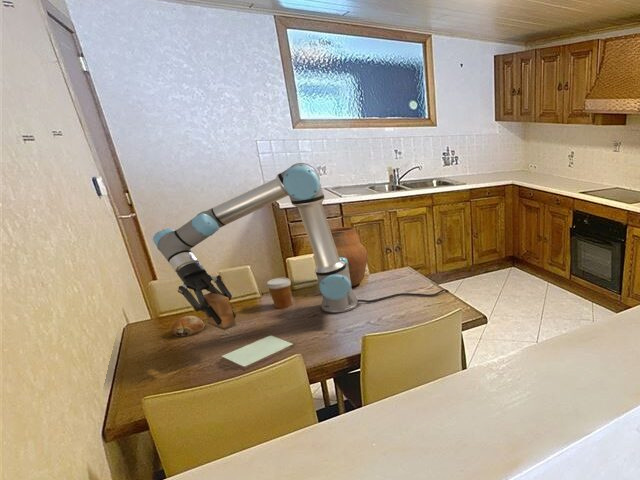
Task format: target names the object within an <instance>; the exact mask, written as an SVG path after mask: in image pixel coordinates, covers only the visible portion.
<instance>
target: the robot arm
mask: <svg viewBox="0 0 640 480" xmlns="http://www.w3.org/2000/svg"><path fill="white" fill-rule="evenodd" d="M287 197H288V198H289V200H290V203H291V205H292V206H294V207H296V208H297V209H298V212H299V215H300V218H301V221H302V224H303V227H304V230H305V233H306V237H307V239H308V242H309V244H310V248H311V251H312V254H313V257H314V260H315V263H316V262H317V263H316V267H315V269H314V272H315V275H316V278H317V281H318V284H319V287H318V288H319V292H320V293H321V295H322V301H321V310H322V311H323V312H324V313H327V314H341V313H347V312H350V311H353V310H354V309H356V308H357V307H358V306H359V303H374V302H379V301H382V300H385V299H390V298H394V297H398V296H421V297H435V296H437V295H439V294H441V293H443V292H447V293H449V292H450V290H448V289H445V288H444V289H441V290H439V291H437V292H436V293H435V292H434V293H430V294H427V293H416V292H415V293H413V292H402V293H401V292H400V293H395V294H391V295H387V296H382V297H379V298H375V299H370V300H369V299H368V300H367V299H358V297H357V295H356V294H355V292H354V290H353V288H352V287H353V286H352V285H351V280H350V274H349V267H348V261H347V259H346V258H344V257H339V256H338V253H337V249H336V246H335V243H334V240H333V237H332V234H331V230H330V228H331V227H330V224H329V222H328V217H327V214H326V211H325V209H324V206H323V202H324V200H325V194H324V190H323V188H322V184H321V178H320V174H319V172H318V170H317V169H316V168H315V167H313V166H312V165H310V164H308V163H305V162H297V163H294V164H292V165H291V166H290V167H288V168H287V169H286V170H283V171H282V172H280V173H277V175H276V177H275V178H273V179H271V180H269V181H267V182H265V183H263V184H261V185H258V186H256V187H254V188H252V189H249V190H248V191H245V192H243V193H241V194H239V195H237V196H235V197H233V198H230V199H227V201H223V202H222V203H220V204H218V205H215V206H213V207H211V208H209V209H207V210H203V211H201V212H199V213H197V214H196V215H195V216H194V217H193V218H191V219H190V220H189V221H188V222H186V223H184V224H183V225H181V226H180V227H179V228H178V229H175V228H164V229H162V230H158V231H156V232H155V233H154V235H153V236H152V241H153V243H154V244H155V246H156V248H157V250H158V251H159V252H160V254H161V255H162V256H163V257H164V258H165V259H166V261H167V263H168V264H169V266H171V268H172V269H173V271H174V272H175V273H176V275H177V276H178V277H179V279H180V280H181V281H182V282H183V284H182V285H179V286H178V288H177V293H179V294H181V295H182V296H183V297H184V298H185V299H186V301H187V302H188V303H189V304H190V305H191V307H192V308H193V309H194V310H195V311H196V312H200V311H201V312H202V313H206V314H207V316H208V317H209V318H210V317H212V318H213V319H214V321H215V322H216V323H217V325H220V324H221V321H222V320H221V319H220V317H219V316H218V315H217V313H216V312H215V311H214V309H213V308H212V307H211V306H209V307H208V305H207V303H206V300H205V298H204V295H205V294H204V293H203V291H204V290H206V291H207V292H208V293H216V294H219V295H222V296H225V297H228V298H229V302H231V299H232V298H233V295H232V294H231V292H230V291H229V289H228V288H227V286H226V284H224V282H223V280H222V276H221V275H219V274H218V275H216V276H212V275H211V274H209V273H208V271H207V270H206V269H205V268H204V266H203V265H202V264H201V263H200V261H199V260H198V258H197V257H196V255H195V254H194V252H192V250H191V249H192V248H194V247H196V246H197V245H199V244H200V243H202V242H204V241H206V239H208V238H209V237H212V236H213V235H214V234H215V233H217V232H219V230H220V229H221V228H223V227H225V226H227V225H229V224H231V223H233V222H236V221H237V220H240V219H242V218H244V217H246V216H248V215H250V214H252V213H254V212H256V211H259V210H261V209H262V208H265V207H267V206H269V205H271V204H273V203H275V202H278V201H280V200H281V199H284V198H287ZM212 281H213V283H214V284H215V285H216V286H215V285H214V284H213V283H212ZM190 290H191V291H193V293H194V294H195V296H196V298H197V299H196V298H195V296H194V294H192V293H191V292H190ZM444 290H445V291H444ZM230 305H231V309H232V312H233V316H234V319H236V316H237V314H236V313H235V312H234V310H233V309H234V306H233V305H232V304H231V303H230ZM206 314H205V315H206Z"/></svg>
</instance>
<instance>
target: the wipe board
mask: <svg viewBox="0 0 640 480" xmlns="http://www.w3.org/2000/svg"><path fill="white" fill-rule="evenodd" d="M292 345H293V342H289V341H286V340H284V339H281V338H279V337H276V336H274V335H271V334H270V335H268V336H266V337H262V338H261V339H258V340H256V341H253V342H252V343H249V344H246V345H245V346H242V347H240V348H237V349H234V350H233V351H230V352H227V353H226V354H223V355H221V357H222V358H224V359H226V360H228V361H231V362H233V363H235V364H237V365H240V366H242V367H247V366H249V365H251V364H253V363H255V362H258V361H260V360H262V359H264V358H267V357H268V356H271V355H273V354H276V353H277V352H280V351H281V350H284V349H286V348H288V347H290V346H292Z"/></svg>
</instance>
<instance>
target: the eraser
mask: <svg viewBox="0 0 640 480" xmlns="http://www.w3.org/2000/svg"><path fill="white" fill-rule="evenodd" d="M203 295H204V298H205V300H206V303H207V305H208V307H209V306H211V307H212V308H213V309H214V311H215V312H216V313H217V315H218V316H219V317H220V319H221V320H222V321H221V324H220V325H217V323H216V322H215V321H214V319H213V318H212V317H210V318H209V317H208V316H207V314H206V313H205V312H204V313H205V314H204V315H205V317H206V320H207V323H208V325H210V326H213V327H215V328H218V329H220V330H222V331H226V330H229V329H232V328H234V327H236V326H237V323H236V320H235V319H236V318H235V319H234V316H233V312H234V311H233V312H232V310H233V309H231V305H232V304H231V301H229V298H228V297H225V296H222V295H219V294H216V293H210V292H207V293H205V294H203ZM230 304H231V305H230Z"/></svg>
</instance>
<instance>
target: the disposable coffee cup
mask: <svg viewBox="0 0 640 480" xmlns="http://www.w3.org/2000/svg"><path fill="white" fill-rule="evenodd" d="M291 283H292V281H291V280H290V279H289V278H288V277H276V278H272V279H270V280H268V281H267V283H266V287H267V289H268V291H269V293H270V296H271V299H272V301H273V303H274V304H273V305H274V307H275V308H277V309H285V308H288V307H290V306H291V305H292V295H291V292H292V291H291Z"/></svg>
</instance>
